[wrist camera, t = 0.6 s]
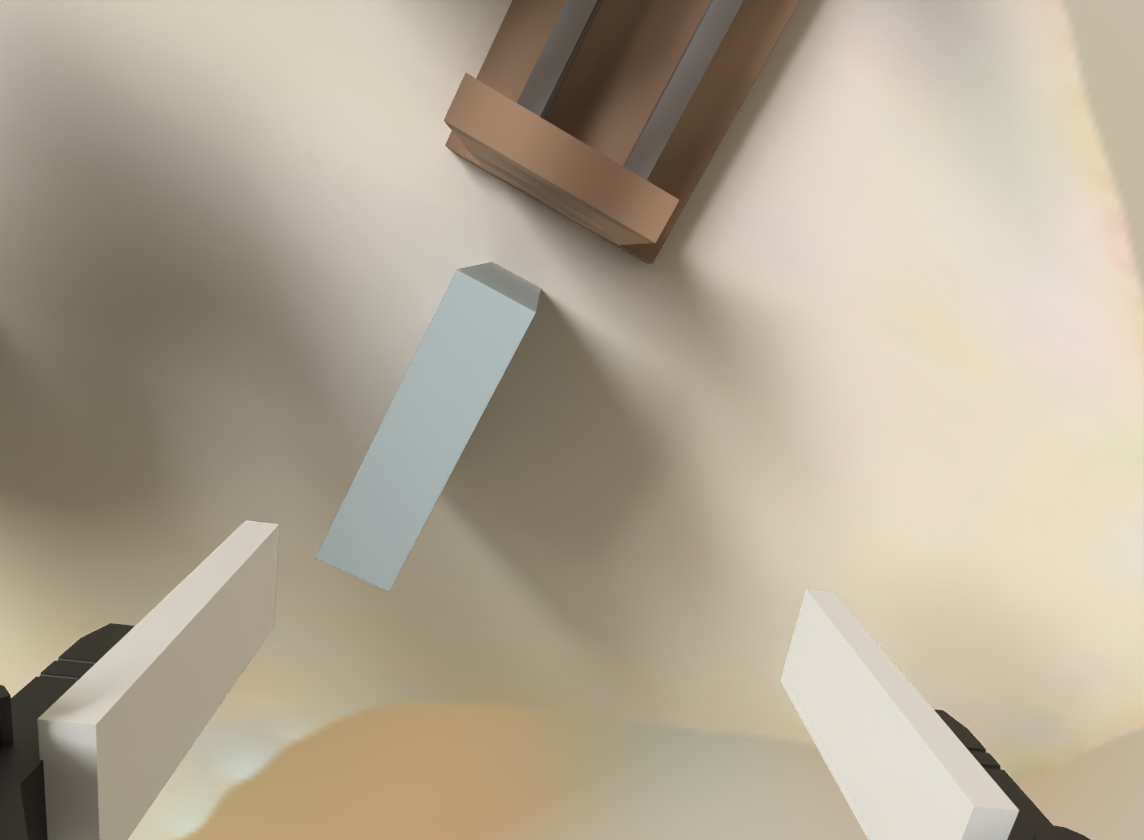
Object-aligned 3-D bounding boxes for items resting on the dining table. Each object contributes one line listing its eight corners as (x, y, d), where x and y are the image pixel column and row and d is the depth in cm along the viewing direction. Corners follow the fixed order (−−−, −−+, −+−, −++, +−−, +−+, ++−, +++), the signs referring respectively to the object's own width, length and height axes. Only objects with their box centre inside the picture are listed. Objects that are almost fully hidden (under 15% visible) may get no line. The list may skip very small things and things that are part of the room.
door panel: (399, 447, 38) (315, 558, 24) (492, 261, 35) (456, 269, 22) (445, 470, 38) (388, 591, 25) (541, 288, 36) (535, 312, 22)
